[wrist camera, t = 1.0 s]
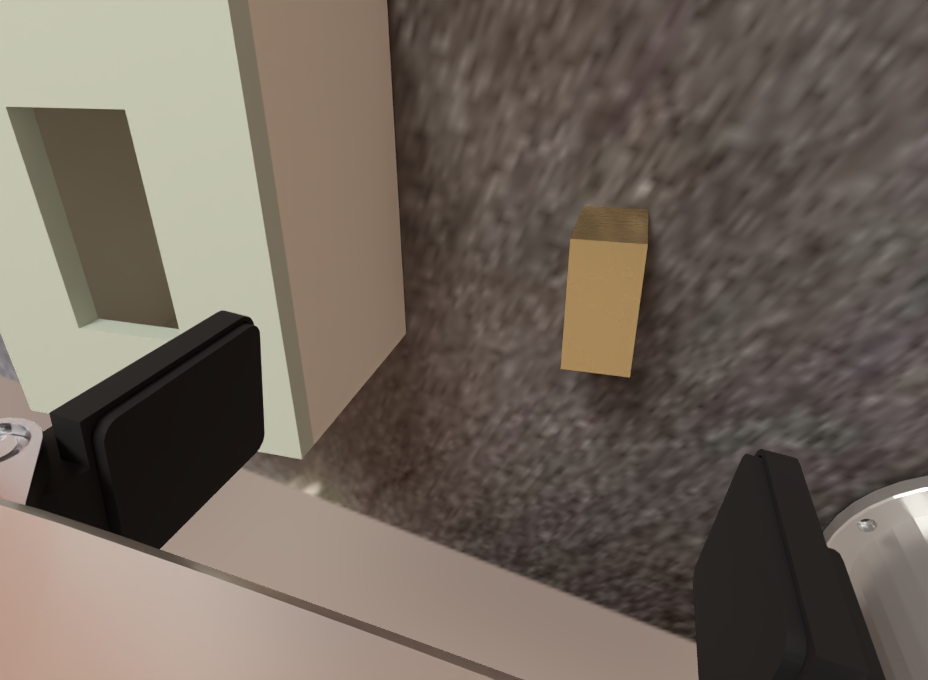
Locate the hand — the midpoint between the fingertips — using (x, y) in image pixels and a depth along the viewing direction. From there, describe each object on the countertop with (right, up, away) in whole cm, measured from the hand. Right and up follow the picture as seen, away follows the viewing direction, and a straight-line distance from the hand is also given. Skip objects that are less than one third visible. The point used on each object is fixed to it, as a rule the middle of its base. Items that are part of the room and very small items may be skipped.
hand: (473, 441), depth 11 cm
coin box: (-10, +11, +21) cm, 26 cm away
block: (+7, +5, +18) cm, 21 cm away
